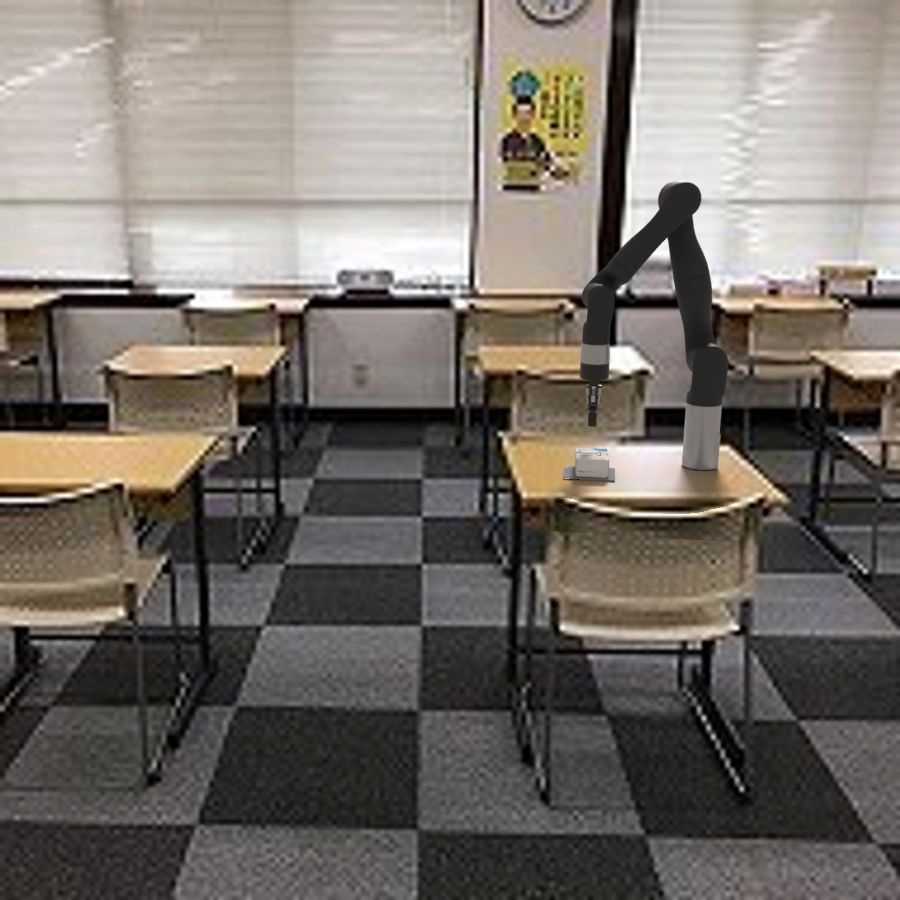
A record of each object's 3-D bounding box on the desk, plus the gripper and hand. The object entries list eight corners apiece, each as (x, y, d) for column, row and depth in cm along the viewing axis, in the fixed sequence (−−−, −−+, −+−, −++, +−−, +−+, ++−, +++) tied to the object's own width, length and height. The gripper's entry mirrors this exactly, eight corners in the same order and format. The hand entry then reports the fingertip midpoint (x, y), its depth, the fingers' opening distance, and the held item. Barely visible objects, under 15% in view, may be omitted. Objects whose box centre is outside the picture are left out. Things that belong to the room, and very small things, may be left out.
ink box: (607, 448, 277) (610, 459, 265) (606, 466, 278) (609, 478, 266) (575, 447, 277) (576, 458, 266) (574, 465, 279) (575, 476, 267)
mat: (614, 470, 276) (614, 468, 276) (614, 482, 265) (614, 480, 265) (565, 467, 278) (565, 465, 278) (563, 479, 267) (563, 477, 267)
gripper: (609, 365, 264) (606, 432, 268) (609, 357, 277) (606, 421, 281) (579, 364, 265) (576, 431, 269) (581, 356, 278) (578, 419, 282)
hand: (592, 425), depth 275 cm, fingers closed
